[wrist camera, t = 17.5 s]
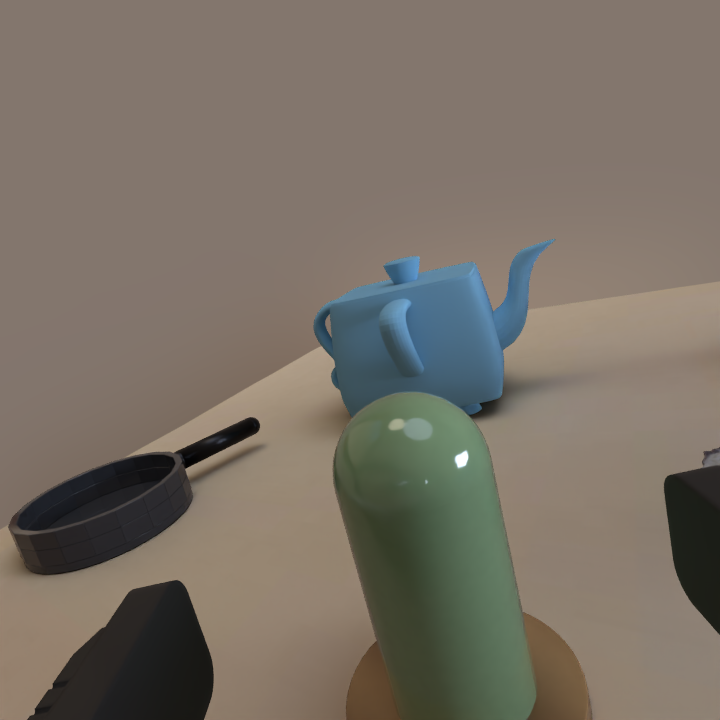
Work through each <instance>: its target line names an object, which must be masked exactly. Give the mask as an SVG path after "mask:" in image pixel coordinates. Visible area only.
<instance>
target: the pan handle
mask: <svg viewBox="0 0 720 720" xmlns="http://www.w3.org/2000/svg"><path fill="white" fill-rule="evenodd" d="M259 429H260V423H259V421H258V420H257V419H256V418H253V417H250V418H247V419H245V420H242V421H240V422H238V423H236V424H234V425H232V426H230V427H227V428H225V429H223V430H221V431H219V432H217V433H215V434H213V435H210V436H208V437H206V438H204V439H202V440H200V441H198V442H196V443H193V444H191V445H189V446H187V447H185V448H183V449H181V450H178V451H176V452H175V454H178V455H180V457H181V460H182V462H183V465H184V468H185V469H186V468H188V467H190V466H192V465H194V464H196V463H198V462H200V461H202V460H204V459H206V458H208V457H210V456H212V455H214V454H216V453H218V452H220V451H222V450H224V449H226V448H228V447H230V446H232V445H234V444H236V443H238V442H240V441H242V440H244V439H246V438H248V437H250V436H252V435H254V434H256V433H257V432H258V431H259Z"/></svg>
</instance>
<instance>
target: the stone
mask: <svg viewBox="0 0 720 720" xmlns="http://www.w3.org/2000/svg"><path fill="white" fill-rule="evenodd" d="M703 453H704V455H705V457H704V459H703V461H702V463H703V468H705V467H710V466H714V465H720V447H719V448H717V449H712V451H704V452H703Z"/></svg>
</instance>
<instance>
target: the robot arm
mask: <svg viewBox="0 0 720 720" xmlns="http://www.w3.org/2000/svg"><path fill="white" fill-rule="evenodd" d="M664 493H665V501H666V509H667V516H668V524H669V531H670V539H671V546H672V554H673V561H674V566H675V570H676V573H677V576H678V578H679V581H680V583H681V585H682V587H683V589H684V591H685V593H686V595H687V596H688V598H689V600H690V601H691V602H692V604H693V605H694V606H695V607H696V609H697V610H698V611H699V612H700V613H701V614H702V615H703V616H704V618H705V619H706V620H707V621H708V622H709V623H710V624H711V625H712V627H713V628H714V629H715V630H716V631H717V632H718V633H719V635H720V465H714V466H710V467H705V468H700V469H696V470H691V471H687V472H682V473H677V474H673V475H669V476H667V477H666V479H665V483H664ZM213 681H214V674H213V664H212V659H211V655H210V652H209V649H208V647H207V644H206V641H205V638H204V636H203V633H202V630H201V627H200V625H199V622H198V619H197V616H196V614H195V611H194V608H193V605H192V603H191V600H190V597H189V594H188V592H187V589H186V588H185V586H184V585H183V583H182V582H180V581H178V580H174V581H169V582H165V583H160V584H155V585H151V586H146V587H141V588H137V589H133V590H131V591H130V592H129V593H128V594H127V596H126V597H125V599H124V600H123V601H122V603H121V604H120V606H119V607H118V609H117V610H116V612H115V613H114V615H113V616H112V618H111V619H110V621H109V622H108V624H107V625H106V627H104V628H102V629H100V630H99V631H98V632H97V633H96V634H95V635H94V636H93V637H92V638H91V639H90V640H89V641H87V642H86V643H85V644H84V645H83V646H82V647H81V648H80V649H79V650H78V651H77V652H75V653H74V654H73V656H72V657H71V658H70V660H69V661H68V663H67V664H66V666H65V667H64V668H63V670H62V671H61V673H60V674H59V675H58V677H57V678H56V680H55V681H54V683H53V688H52V689H50V690H48V691H47V692H46V694H45V695H44V697H43V698H42V700H41V701H40V702H39V704H38V705H37V707H36V708H35V714H34V715H32V716H30V717H29V718H28V719H27V720H204V718H205V715H206V712H207V709H208V706H209V703H210V700H211V697H212V692H213Z"/></svg>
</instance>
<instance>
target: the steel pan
mask: <svg viewBox="0 0 720 720" xmlns="http://www.w3.org/2000/svg"><path fill="white" fill-rule="evenodd" d="M192 497H193V492H192V490H191V485H190V482H189V479H188V477H187V474H186V471H185V468H184V465H183V462H182V460H181V457H180V455H178V454H175V453H172V452H152V453H146V454H140V455H135V456H131V457H127V458H124V459H120V460H117V461H113V462H110V463H107V464H105V465H102V466H99V467H96V468H93V469H91V470H88V471H86V472H83V473H81V474H79V475H77V476H74V477H72V478H70V479H68V480H66V481H64V482H62V483H60V484H58V485H56V486H54V487H53V488H51V489H49V490H47V491H45V492H44V493H42V494H40V495H39V496H37V497H36V498H35V499H33V500H32V501H30V502H29V503H27V504H26V505H24V506H23V507H22V508H21V509H20V510H19V511H18V512H17V513H16V514H15V515H14V516H13V517H12V519H11V521H10V524H9V526H8V528H9V531H10V533H11V535H12V538H13V540H14V542H15V545H16V547H17V549H18V552H19V554H20V556H21V558H22V559H23V560H24V563H25V565H26V567H27V568H28V569H29V570H30V571H32V572H35V573H39V574H56V573H64V572H69V571H74V570H78V569H82V568H85V567H88V566H92V565H95V564H98V563H100V562H103V561H106V560H108V559H111V558H113V557H115V556H118V555H120V554H122V553H124V552H126V551H129V550H131V549H133V548H135V547H136V546H138V545H140V544H142V543H144V542H146V541H147V540H149V539H151V538H152V537H154V536H155V535H157V534H158V533H160V532H161V531H163V530H164V529H166V528H167V527H168V526H170V525H171V524H172V523H173V522H174V521H176V520H177V519H178V518H179V517H180V516H181V515H182V514H183V513H184V512H185V510H186V509H187V508H188V506H189V505H190V503H191V501H192Z"/></svg>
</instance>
